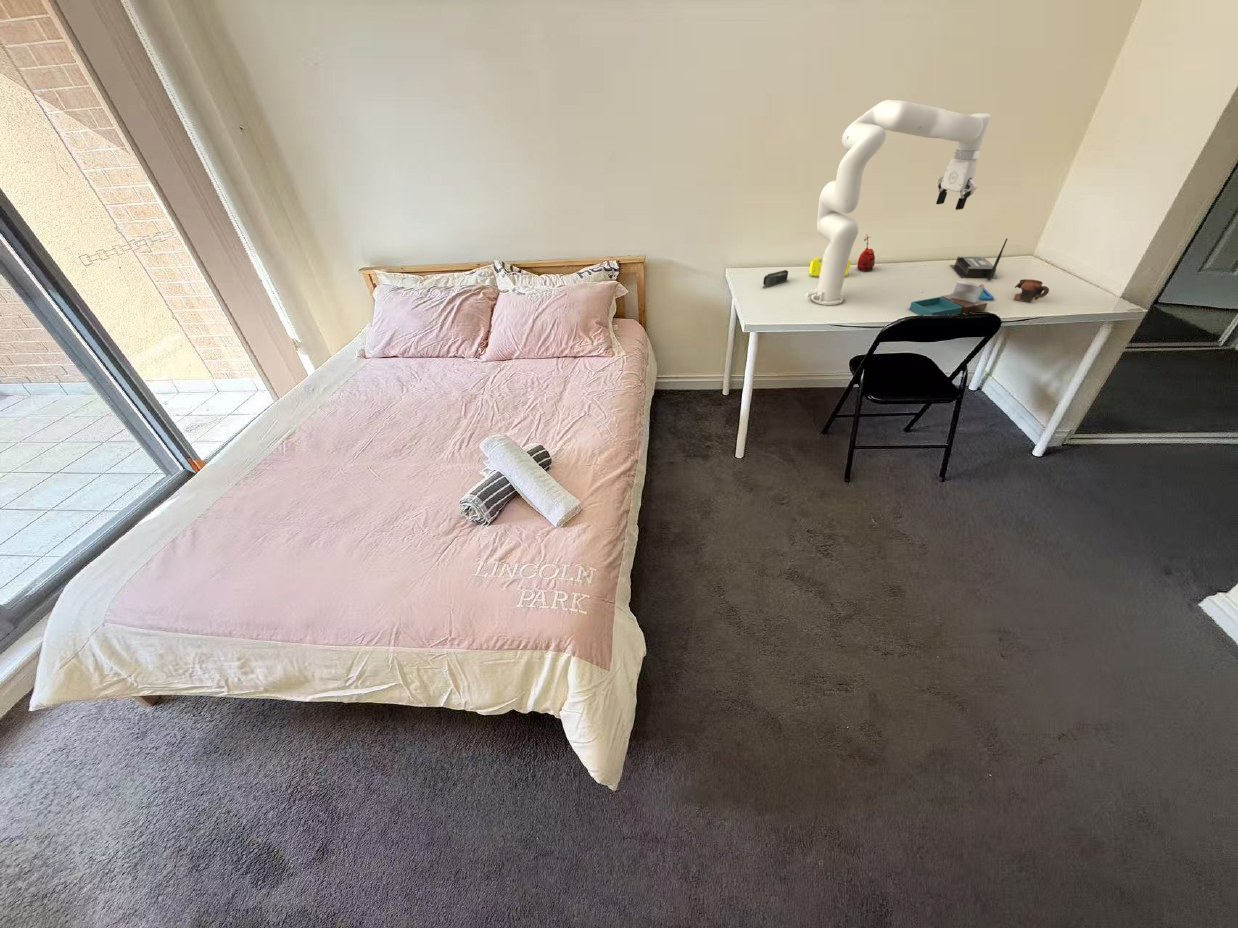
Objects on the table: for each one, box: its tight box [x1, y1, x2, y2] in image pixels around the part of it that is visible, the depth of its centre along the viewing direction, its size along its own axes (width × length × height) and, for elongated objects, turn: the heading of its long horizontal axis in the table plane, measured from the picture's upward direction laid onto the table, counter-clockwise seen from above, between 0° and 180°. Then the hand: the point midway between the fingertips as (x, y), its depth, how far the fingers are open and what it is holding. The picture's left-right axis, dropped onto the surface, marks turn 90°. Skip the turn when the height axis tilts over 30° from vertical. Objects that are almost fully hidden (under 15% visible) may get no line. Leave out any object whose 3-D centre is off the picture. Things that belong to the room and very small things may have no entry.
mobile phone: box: [762, 269, 789, 289], centre depth 218 cm, size 5×3×15 cm
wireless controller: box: [950, 238, 1008, 281], centre depth 211 cm, size 20×14×17 cm
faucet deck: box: [940, 292, 988, 315], centre depth 190 cm, size 13×13×3 cm
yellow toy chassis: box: [808, 257, 852, 278], centre depth 221 cm, size 16×6×8 cm, turn 83°
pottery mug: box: [1013, 278, 1050, 303], centre depth 192 cm, size 12×10×8 cm
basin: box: [908, 296, 963, 316], centre depth 188 cm, size 13×11×3 cm
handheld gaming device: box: [979, 287, 995, 301], centre depth 200 cm, size 8×1×15 cm
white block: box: [951, 280, 985, 303], centre depth 187 cm, size 8×3×6 cm, turn 45°
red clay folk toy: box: [856, 234, 876, 273], centre depth 222 cm, size 8×7×15 cm
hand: (949, 206), depth 190 cm, fingers open, 9 cm apart
